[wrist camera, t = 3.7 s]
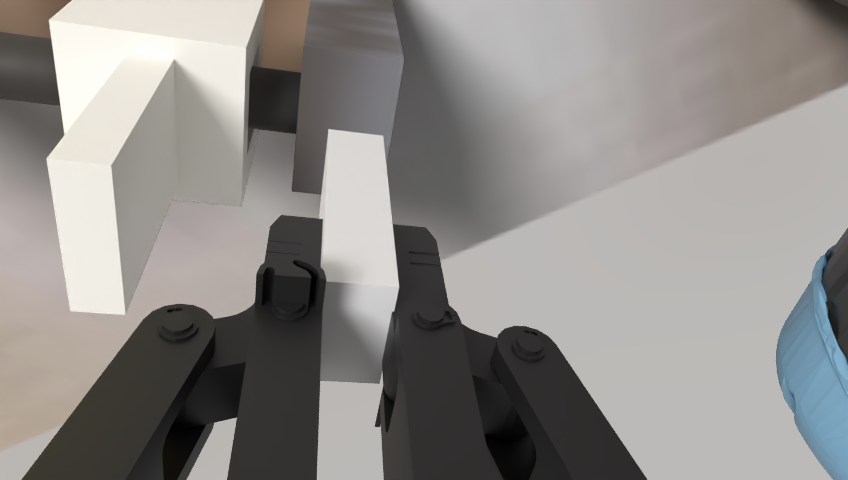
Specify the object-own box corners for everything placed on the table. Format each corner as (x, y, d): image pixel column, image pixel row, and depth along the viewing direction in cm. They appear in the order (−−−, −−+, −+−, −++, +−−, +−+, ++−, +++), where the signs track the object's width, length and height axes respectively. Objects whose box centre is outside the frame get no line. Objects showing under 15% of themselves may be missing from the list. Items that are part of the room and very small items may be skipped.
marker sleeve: (264, -5, 22) (209, 149, 13) (259, 133, 25) (209, 338, 16) (107, -30, 21) (-68, 118, 12) (119, 117, 24) (-15, 324, 15)
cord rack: (392, -83, 28) (426, 25, 16) (365, 112, 33) (375, 301, 21) (-284, -206, 24) (-903, -179, 12) (-198, 41, 29) (-574, 230, 17)
